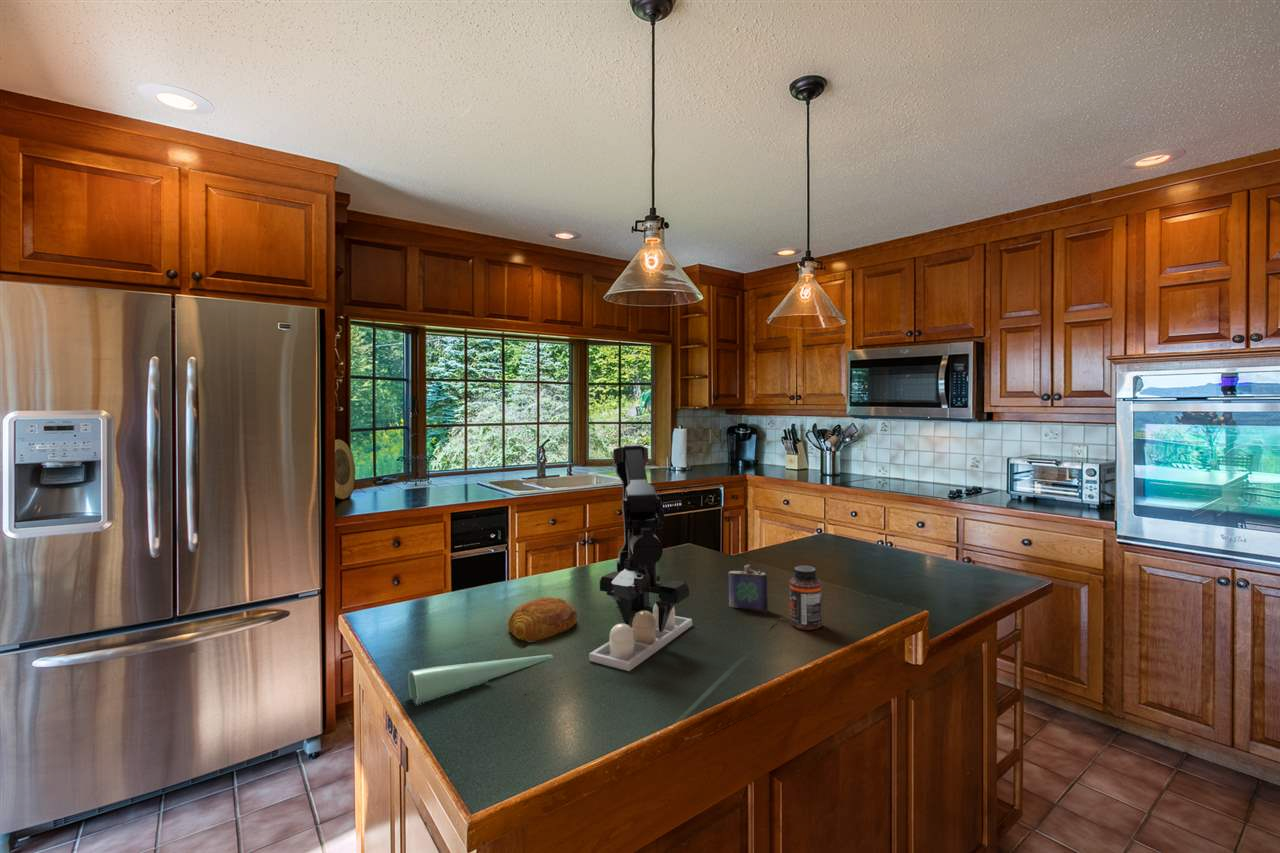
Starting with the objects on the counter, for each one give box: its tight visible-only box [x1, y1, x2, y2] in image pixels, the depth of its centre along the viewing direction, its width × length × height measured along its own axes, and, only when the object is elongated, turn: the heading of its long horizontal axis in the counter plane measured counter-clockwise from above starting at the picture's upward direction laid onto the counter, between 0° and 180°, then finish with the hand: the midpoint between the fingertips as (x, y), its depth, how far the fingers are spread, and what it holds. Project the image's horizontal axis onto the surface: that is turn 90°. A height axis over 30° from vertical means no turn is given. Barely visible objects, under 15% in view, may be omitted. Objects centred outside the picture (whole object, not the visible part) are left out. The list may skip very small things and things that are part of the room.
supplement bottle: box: [789, 565, 823, 631], centre depth 128 cm, size 7×7×13 cm
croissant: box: [507, 597, 578, 642], centre depth 130 cm, size 14×16×8 cm
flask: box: [728, 564, 769, 612], centre depth 140 cm, size 9×3×11 cm, turn 71°
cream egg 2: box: [652, 599, 676, 631], centre depth 127 cm, size 5×5×6 cm
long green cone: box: [407, 654, 555, 704], centre depth 106 cm, size 5×6×27 cm
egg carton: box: [588, 615, 693, 672], centre depth 120 cm, size 9×26×2 cm, turn 148°
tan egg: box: [631, 610, 656, 645], centre depth 120 cm, size 5×5×6 cm
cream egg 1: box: [608, 622, 635, 661], centre depth 113 cm, size 5×5×6 cm
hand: (644, 627), depth 120 cm, fingers open, 8 cm apart
